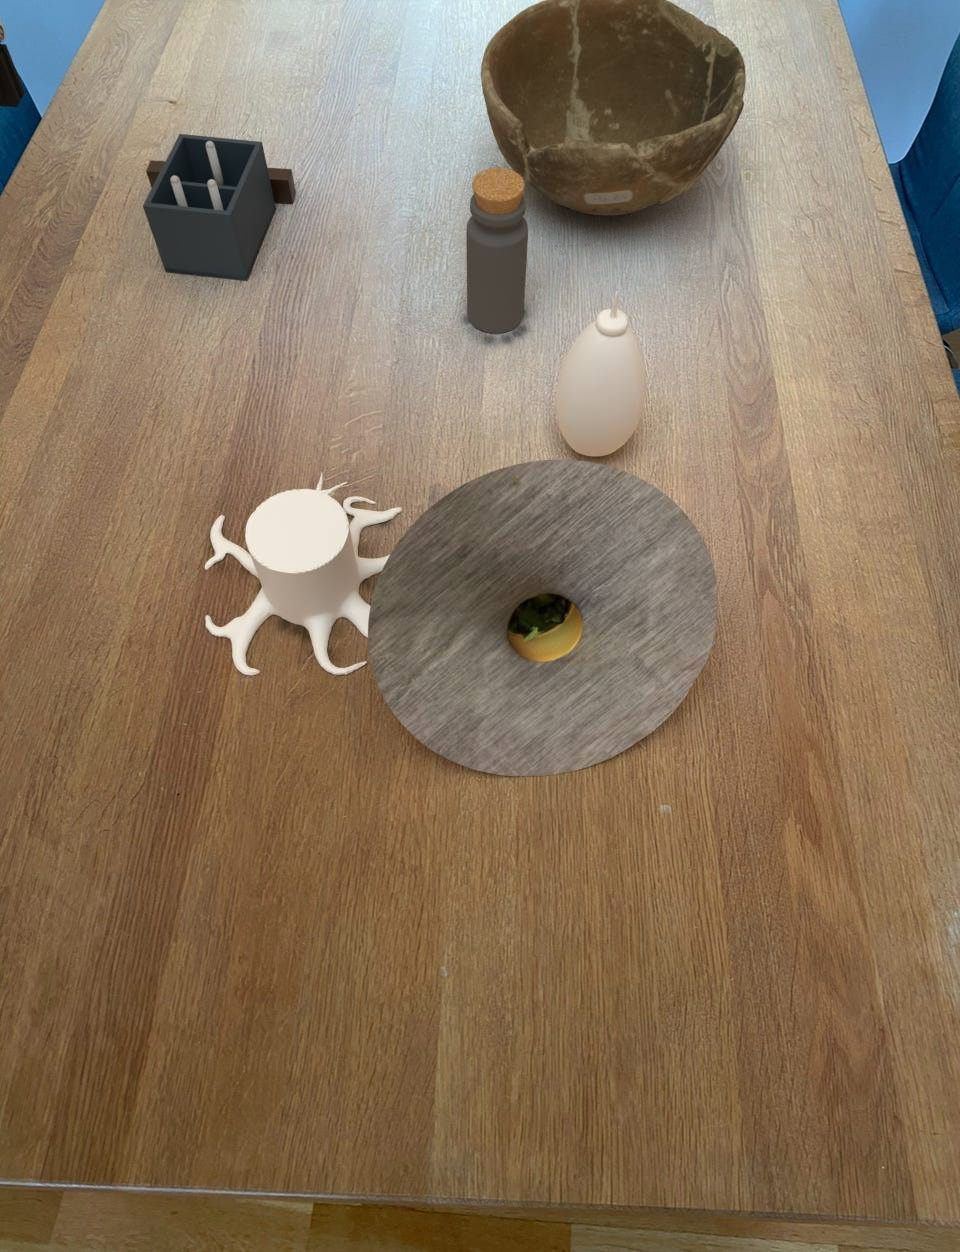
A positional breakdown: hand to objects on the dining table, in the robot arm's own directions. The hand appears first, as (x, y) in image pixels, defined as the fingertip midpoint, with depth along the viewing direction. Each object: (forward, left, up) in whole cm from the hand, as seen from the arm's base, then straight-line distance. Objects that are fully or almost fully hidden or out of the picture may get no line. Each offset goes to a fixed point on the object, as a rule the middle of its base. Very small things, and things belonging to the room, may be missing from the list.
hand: (3, 99), depth 75 cm
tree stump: (+37, -9, -25) cm, 45 cm away
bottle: (+29, +27, -25) cm, 47 cm away
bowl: (+26, +50, -25) cm, 62 cm away
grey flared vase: (+57, -3, -25) cm, 62 cm away
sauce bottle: (+47, +19, -25) cm, 56 cm away
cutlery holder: (-2, +18, -24) cm, 30 cm away
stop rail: (-7, +23, -24) cm, 34 cm away
